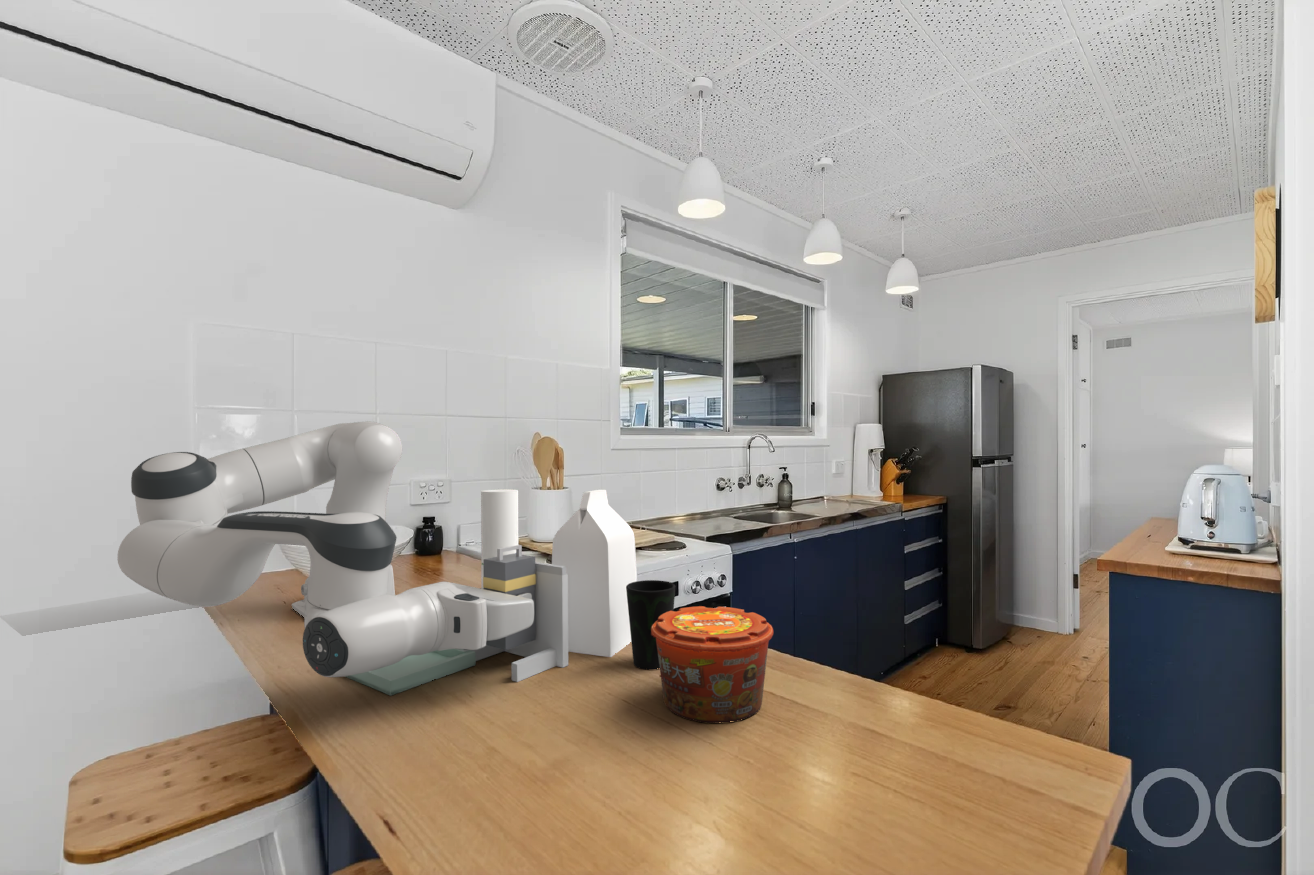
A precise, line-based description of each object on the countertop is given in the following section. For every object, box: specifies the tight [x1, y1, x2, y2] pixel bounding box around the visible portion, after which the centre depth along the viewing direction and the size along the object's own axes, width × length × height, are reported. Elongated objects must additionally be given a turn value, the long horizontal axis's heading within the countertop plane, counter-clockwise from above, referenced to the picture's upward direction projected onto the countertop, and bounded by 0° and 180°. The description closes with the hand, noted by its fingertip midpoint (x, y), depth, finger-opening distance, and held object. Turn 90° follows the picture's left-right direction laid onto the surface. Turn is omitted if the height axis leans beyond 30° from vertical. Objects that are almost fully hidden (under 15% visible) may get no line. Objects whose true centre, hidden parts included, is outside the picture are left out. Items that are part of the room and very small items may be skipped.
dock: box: [460, 561, 569, 683], centre depth 95 cm, size 16×9×15 cm, turn 54°
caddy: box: [483, 544, 536, 650], centre depth 95 cm, size 5×6×15 cm
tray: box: [343, 649, 477, 696], centre depth 93 cm, size 14×14×2 cm
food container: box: [651, 605, 774, 724], centre depth 80 cm, size 16×16×11 cm
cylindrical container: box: [480, 488, 519, 588], centre depth 121 cm, size 7×7×25 cm
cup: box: [626, 579, 676, 671], centre depth 95 cm, size 8×8×12 cm
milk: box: [551, 489, 638, 658], centre depth 105 cm, size 12×12×26 cm
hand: (514, 594), depth 95 cm, fingers closed on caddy, 5 cm apart
